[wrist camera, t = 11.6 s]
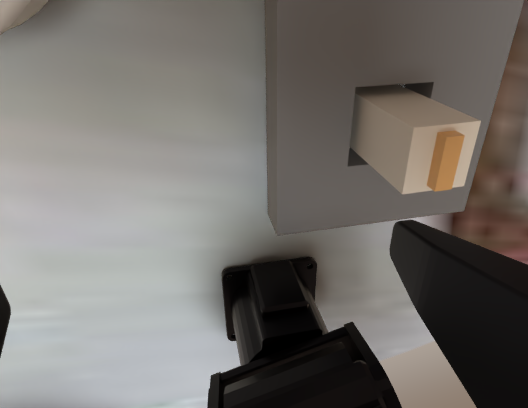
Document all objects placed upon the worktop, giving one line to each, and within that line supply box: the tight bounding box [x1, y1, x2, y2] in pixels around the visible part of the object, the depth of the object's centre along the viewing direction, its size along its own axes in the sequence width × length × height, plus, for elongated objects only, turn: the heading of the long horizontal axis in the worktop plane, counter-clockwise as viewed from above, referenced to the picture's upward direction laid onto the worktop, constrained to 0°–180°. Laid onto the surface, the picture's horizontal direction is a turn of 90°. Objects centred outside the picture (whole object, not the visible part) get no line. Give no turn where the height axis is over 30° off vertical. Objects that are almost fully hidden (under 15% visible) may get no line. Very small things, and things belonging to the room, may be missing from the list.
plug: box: [350, 84, 481, 194], centre depth 19 cm, size 3×3×8 cm
